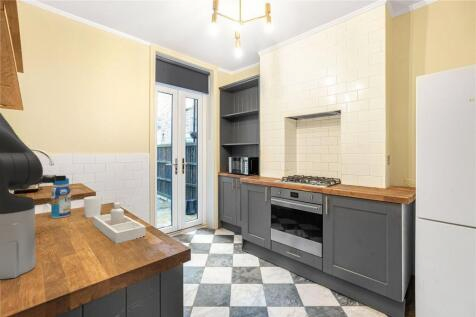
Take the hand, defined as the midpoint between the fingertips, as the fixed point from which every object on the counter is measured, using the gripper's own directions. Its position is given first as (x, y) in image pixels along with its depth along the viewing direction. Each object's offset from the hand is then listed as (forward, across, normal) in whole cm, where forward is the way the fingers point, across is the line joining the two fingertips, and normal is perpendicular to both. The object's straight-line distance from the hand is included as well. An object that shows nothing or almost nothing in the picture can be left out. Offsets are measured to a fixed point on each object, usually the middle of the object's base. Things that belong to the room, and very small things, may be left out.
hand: (60, 178), depth 92 cm
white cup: (+2, +28, +23) cm, 36 cm away
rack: (+20, +1, +23) cm, 31 cm away
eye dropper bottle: (+20, 0, +22) cm, 30 cm away
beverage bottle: (-14, +32, +22) cm, 42 cm away
